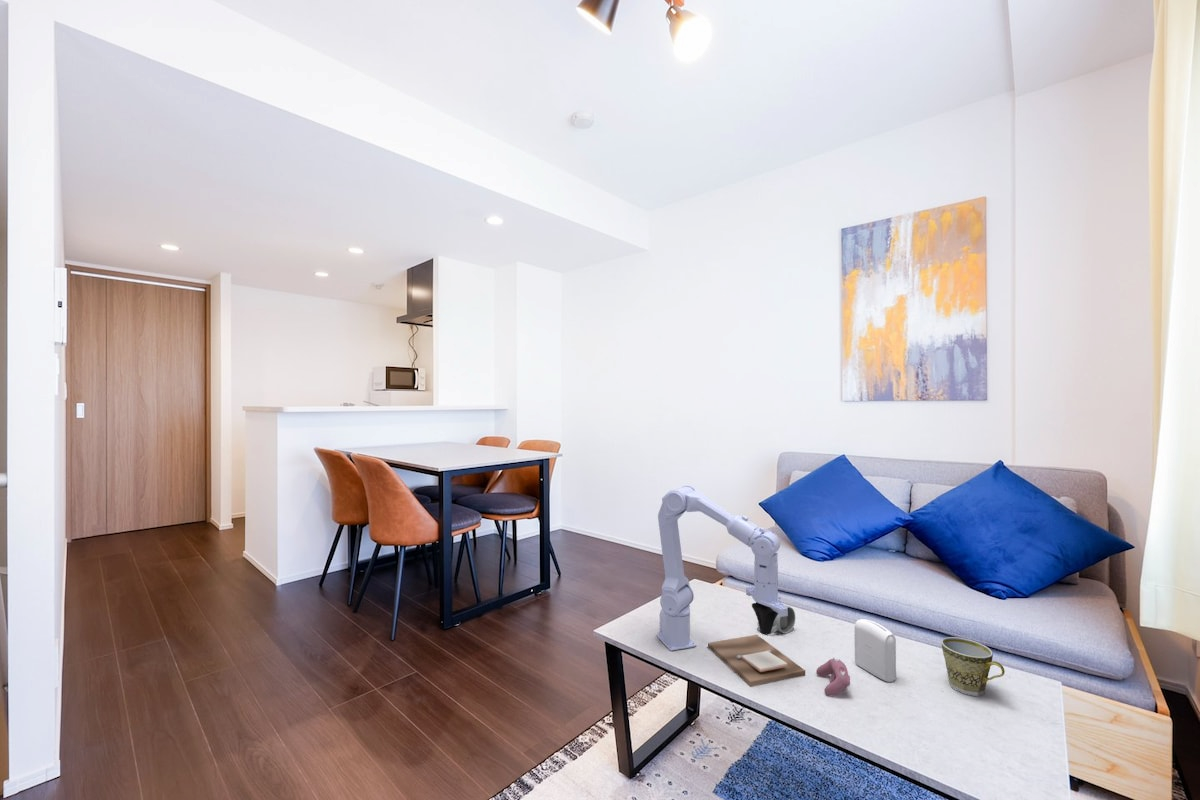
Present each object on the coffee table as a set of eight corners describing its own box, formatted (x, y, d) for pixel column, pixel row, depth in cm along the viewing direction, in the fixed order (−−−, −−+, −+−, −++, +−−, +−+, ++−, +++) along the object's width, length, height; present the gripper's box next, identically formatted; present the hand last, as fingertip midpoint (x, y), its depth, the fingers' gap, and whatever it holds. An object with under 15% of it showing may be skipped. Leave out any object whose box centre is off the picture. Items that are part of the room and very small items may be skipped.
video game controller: (842, 705, 117) (857, 679, 116) (823, 694, 117) (838, 669, 117) (831, 681, 126) (844, 658, 126) (814, 671, 127) (827, 648, 126)
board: (707, 647, 140) (707, 642, 140) (756, 638, 145) (756, 634, 145) (750, 686, 121) (750, 681, 121) (805, 675, 126) (805, 670, 126)
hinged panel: (756, 669, 124) (756, 672, 124) (790, 662, 127) (791, 666, 127) (736, 655, 132) (736, 658, 132) (769, 649, 135) (769, 652, 135)
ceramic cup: (931, 682, 123) (931, 641, 123) (957, 673, 127) (957, 633, 127) (990, 712, 111) (990, 667, 111) (1017, 701, 115) (1017, 658, 115)
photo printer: (851, 663, 132) (851, 616, 132) (864, 660, 134) (864, 613, 133) (886, 684, 122) (886, 633, 122) (899, 680, 124) (899, 630, 124)
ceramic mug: (773, 619, 158) (773, 595, 157) (796, 629, 151) (795, 604, 151) (750, 629, 152) (750, 603, 152) (773, 639, 145) (773, 613, 145)
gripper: (798, 588, 123) (798, 644, 123) (761, 569, 137) (761, 618, 137) (773, 592, 121) (773, 648, 121) (739, 571, 135) (739, 622, 135)
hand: (765, 633), depth 129 cm, fingers closed
